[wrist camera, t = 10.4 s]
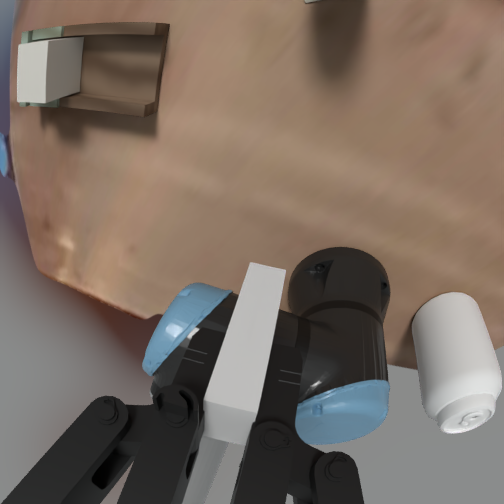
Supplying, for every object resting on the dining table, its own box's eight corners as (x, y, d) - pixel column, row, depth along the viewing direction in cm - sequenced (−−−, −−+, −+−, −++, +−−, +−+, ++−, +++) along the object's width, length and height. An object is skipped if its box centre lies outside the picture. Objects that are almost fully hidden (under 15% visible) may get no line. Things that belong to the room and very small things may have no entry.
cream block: (79, 91, 36) (45, 103, 30) (50, 90, 36) (17, 101, 30) (84, 36, 31) (48, 41, 25) (53, 38, 31) (18, 44, 25)
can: (431, 282, 43) (460, 397, 27) (489, 296, 42) (526, 398, 26) (398, 336, 51) (408, 441, 35) (454, 345, 50) (473, 440, 34)
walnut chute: (157, 111, 37) (139, 119, 33) (39, 98, 38) (19, 106, 34) (169, 23, 30) (151, 22, 26) (43, 29, 31) (22, 32, 27)
